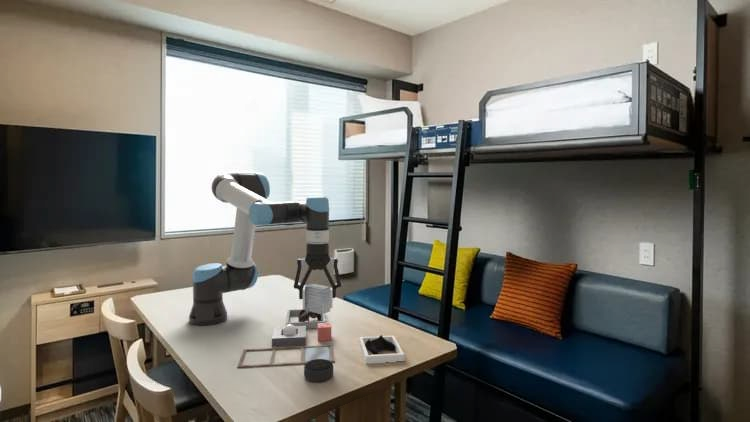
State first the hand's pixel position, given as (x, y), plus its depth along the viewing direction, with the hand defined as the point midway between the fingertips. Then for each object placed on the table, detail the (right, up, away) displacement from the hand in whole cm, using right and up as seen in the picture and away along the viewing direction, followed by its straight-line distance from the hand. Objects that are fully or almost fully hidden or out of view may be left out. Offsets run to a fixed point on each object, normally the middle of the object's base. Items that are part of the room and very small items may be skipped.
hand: (317, 307), depth 143 cm
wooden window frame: (-10, -16, 0) cm, 19 cm away
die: (0, -15, +16) cm, 22 cm away
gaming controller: (+21, -17, +4) cm, 27 cm away
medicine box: (0, -1, 0) cm, 1 cm away
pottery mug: (-7, -14, +33) cm, 37 cm away
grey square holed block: (-12, -15, +14) cm, 24 cm away
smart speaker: (+2, -18, -14) cm, 23 cm away
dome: (-13, -15, +14) cm, 24 cm away
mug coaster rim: (-10, -14, +35) cm, 39 cm away
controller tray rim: (+22, -17, +4) cm, 27 cm away
